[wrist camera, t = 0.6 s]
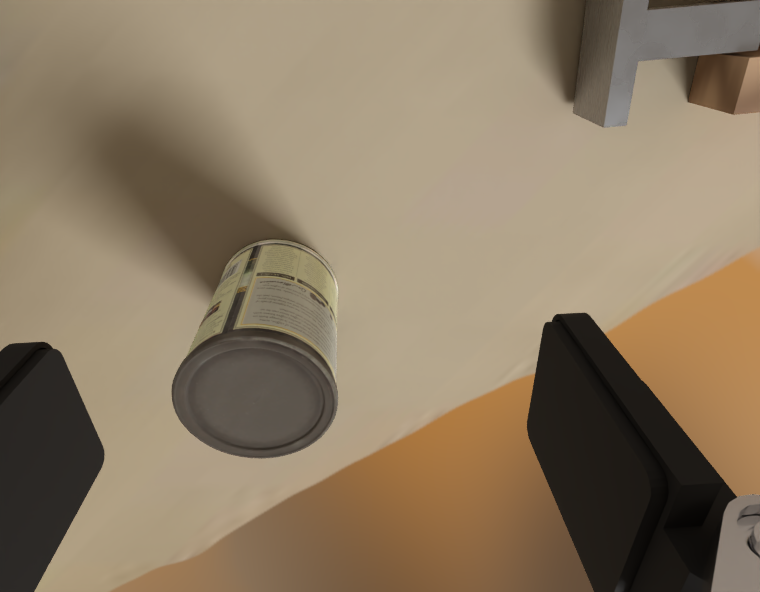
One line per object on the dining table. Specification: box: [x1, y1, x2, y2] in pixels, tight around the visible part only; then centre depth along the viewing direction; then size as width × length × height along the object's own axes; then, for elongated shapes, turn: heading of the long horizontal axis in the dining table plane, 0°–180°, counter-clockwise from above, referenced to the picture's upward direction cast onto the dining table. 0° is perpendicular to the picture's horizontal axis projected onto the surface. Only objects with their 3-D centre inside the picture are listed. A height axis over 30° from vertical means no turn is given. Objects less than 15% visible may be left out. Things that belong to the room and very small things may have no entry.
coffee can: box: [172, 240, 338, 458], centre depth 37 cm, size 10×10×14 cm
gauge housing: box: [688, 46, 760, 115], centre depth 31 cm, size 13×20×6 cm, turn 94°
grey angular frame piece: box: [573, 0, 760, 127], centre depth 31 cm, size 12×10×5 cm
